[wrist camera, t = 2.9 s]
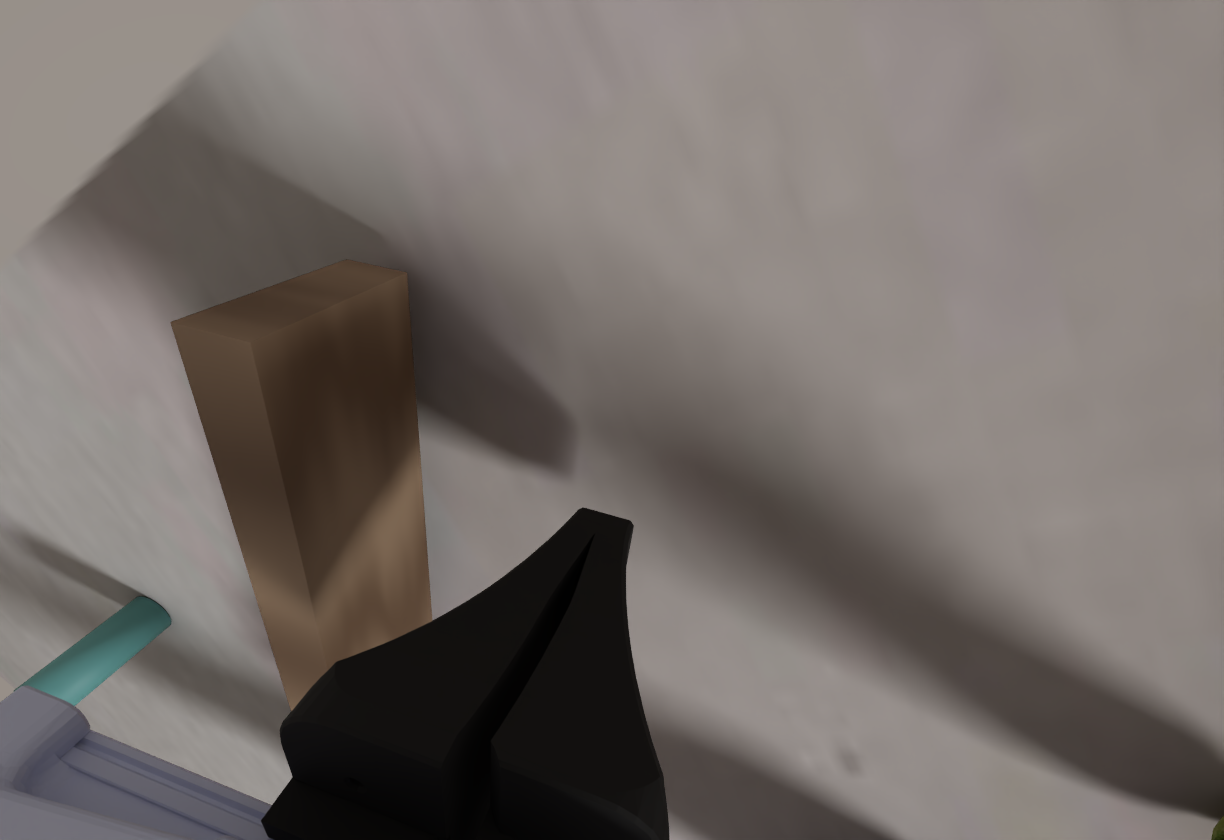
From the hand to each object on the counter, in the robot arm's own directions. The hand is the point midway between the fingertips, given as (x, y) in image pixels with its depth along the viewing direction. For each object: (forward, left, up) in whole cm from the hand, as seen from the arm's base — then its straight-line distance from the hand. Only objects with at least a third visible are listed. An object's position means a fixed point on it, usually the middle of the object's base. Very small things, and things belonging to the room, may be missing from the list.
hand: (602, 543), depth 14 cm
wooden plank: (-5, +6, -1) cm, 8 cm away
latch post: (-15, +22, -2) cm, 26 cm away
